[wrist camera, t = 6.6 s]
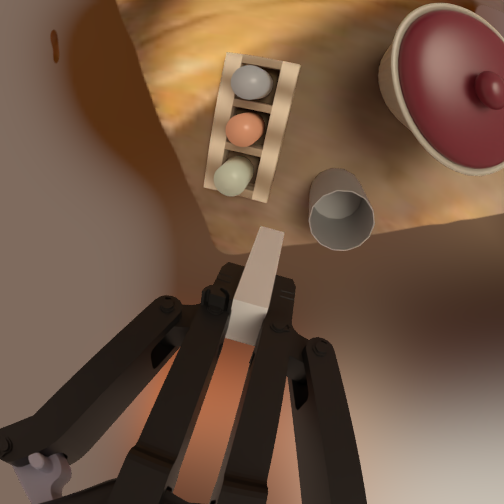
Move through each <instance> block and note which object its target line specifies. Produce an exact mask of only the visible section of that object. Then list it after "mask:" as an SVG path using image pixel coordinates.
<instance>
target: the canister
mask: <svg viewBox="0 0 504 504" xmlns="http://www.w3.org/2000/svg"><path fill="white" fill-rule="evenodd" d="M378 78H379V81H378V83H379V87H380V91H381V94H382V98H383V99H384V101H385V104H386V105H387V106H388V108H389V110H390V111H391V112H392V113H393V114H394V116H395V117H396V118H397V119H398V120H399V121H400V122H401V123H402V124H403V125H404V126H405V127H407V128H408V129H409V130H410V131H411V132H412V133H413V134H414V136H415V137H416V139H417V140H418V141H419V143H420V144H421V145H422V146H423V147H424V149H425V150H426V151H427V152H428V153H429V154H430V155H431V156H433V157H434V158H435V159H436V160H437V161H439V162H440V163H441V164H443V165H444V166H446V167H448V168H450V169H452V170H454V171H456V172H459V173H462V174H465V175H470V176H484V175H489V174H492V173H495V172H497V171H499V170H501V169H503V168H504V38H503V37H502V36H501V35H500V34H499V32H498V31H497V30H496V29H495V28H494V27H493V26H491V25H490V24H489V23H488V22H487V21H485V20H484V19H483V18H481V17H480V16H478V15H477V14H475V13H473V12H472V11H470V10H467V9H465V8H463V7H460V6H457V5H453V4H447V3H432V4H427V5H424V6H421V7H419V8H417V9H415V10H414V11H412V12H411V13H409V14H408V15H407V16H406V17H405V18H404V20H403V21H402V22H401V24H400V25H399V27H398V29H397V31H396V33H395V36H394V39H393V43H392V44H391V45H390V46H389V48H388V49H387V50H386V52H385V53H384V55H383V58H382V60H381V61H380V66H379V73H378Z"/></svg>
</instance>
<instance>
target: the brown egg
mask: <svg viewBox="0 0 504 504" xmlns="http://www.w3.org/2000/svg"><path fill="white" fill-rule="evenodd" d="M264 131H265V122H264V120H263V118H262V117H261V116H260V115H259V114H257V113H255V112H245V113H242V114H238V115H235V116H233V117H232V118H231V119H230V120H229V121H228V123H227V125H226V136H227V138H228V140H229V141H230V142H231V143H232V144H234V145H236V146H239V147H247V146H250V145H252V144H253V143H254V142H255V141H257V140H258V139H259V138H260V137H261V136H262V135H263V133H264Z"/></svg>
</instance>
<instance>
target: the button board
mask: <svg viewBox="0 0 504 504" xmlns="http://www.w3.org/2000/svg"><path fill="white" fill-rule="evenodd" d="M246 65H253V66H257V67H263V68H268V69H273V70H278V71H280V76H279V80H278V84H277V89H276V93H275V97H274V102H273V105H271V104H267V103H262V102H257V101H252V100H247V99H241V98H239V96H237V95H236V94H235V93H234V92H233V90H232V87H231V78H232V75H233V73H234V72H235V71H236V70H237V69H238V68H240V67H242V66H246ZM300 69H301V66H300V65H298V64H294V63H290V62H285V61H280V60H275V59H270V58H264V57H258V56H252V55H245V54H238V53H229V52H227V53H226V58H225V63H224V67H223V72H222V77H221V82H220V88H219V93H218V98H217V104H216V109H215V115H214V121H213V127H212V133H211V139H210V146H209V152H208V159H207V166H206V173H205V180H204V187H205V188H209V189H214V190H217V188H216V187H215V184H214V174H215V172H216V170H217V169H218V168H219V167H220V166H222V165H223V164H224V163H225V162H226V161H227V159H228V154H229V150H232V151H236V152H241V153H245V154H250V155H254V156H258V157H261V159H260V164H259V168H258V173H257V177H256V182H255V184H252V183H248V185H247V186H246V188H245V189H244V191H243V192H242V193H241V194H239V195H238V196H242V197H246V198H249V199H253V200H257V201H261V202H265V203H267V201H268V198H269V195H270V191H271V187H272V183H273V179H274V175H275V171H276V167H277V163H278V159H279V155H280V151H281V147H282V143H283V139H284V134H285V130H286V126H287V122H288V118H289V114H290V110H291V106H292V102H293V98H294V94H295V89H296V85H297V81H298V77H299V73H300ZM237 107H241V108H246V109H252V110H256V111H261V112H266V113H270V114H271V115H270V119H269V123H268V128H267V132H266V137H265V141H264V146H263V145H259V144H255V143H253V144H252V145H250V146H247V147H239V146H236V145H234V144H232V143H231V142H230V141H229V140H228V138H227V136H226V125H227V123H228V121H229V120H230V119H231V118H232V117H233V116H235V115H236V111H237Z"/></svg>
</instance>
